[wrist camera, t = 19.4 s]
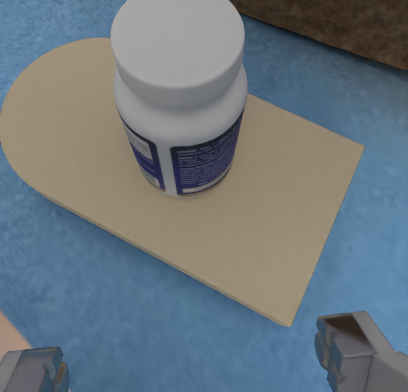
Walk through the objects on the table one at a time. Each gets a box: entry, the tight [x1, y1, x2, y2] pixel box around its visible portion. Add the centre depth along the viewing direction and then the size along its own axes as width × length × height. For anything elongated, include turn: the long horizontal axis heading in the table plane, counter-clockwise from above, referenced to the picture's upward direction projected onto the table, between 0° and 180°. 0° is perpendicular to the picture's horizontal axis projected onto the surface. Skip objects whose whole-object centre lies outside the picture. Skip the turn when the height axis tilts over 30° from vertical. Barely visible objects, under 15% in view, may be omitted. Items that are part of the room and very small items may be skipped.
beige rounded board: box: [0, 38, 365, 327], centre depth 24 cm, size 22×12×5 cm, turn 62°
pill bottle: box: [110, 0, 247, 198], centre depth 17 cm, size 6×6×10 cm
